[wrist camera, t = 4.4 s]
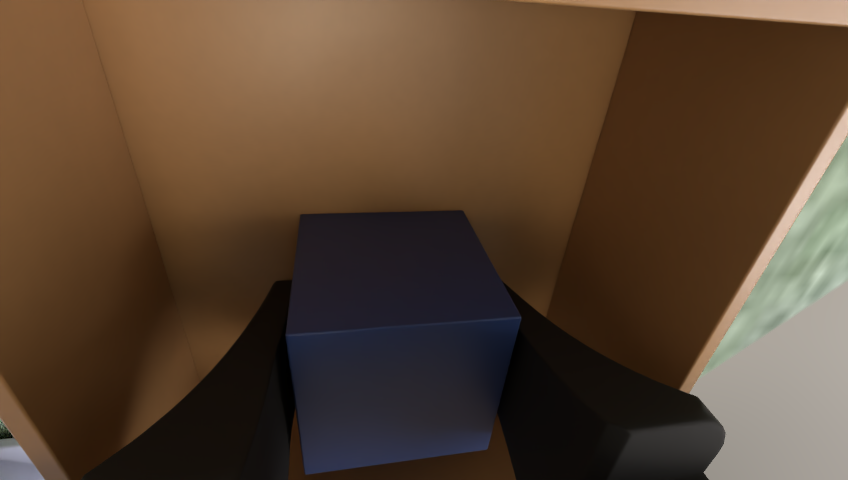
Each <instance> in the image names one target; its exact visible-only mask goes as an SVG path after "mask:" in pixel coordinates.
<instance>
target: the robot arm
mask: <svg viewBox="0 0 848 480" xmlns="http://www.w3.org/2000/svg"><path fill="white" fill-rule="evenodd" d="M501 281H502V280H501ZM502 282H503V281H502ZM503 284H504V286H505V288H506V290H507V292H508V293H509V295H510V297H511V299H512V301H513V303H514V304H515V306H516V308H517V310H518V312H519V314H520V315H521V321H520V325H519V329H518V333H517V337H516V341H515V345H514V348H513V352H512V356H511V360H510V364H509V368H508V372H507V376H506V379H505V383H504V387H503V391H502V395H501V399H500V403H499V407H498V410H497V414H498V417H499V420H500V424H501V427H502V431H503V434H504V437H505V441H506V444H507V448H508V451H509V455H510V459H511V463H512V466H513V470H514V474H515V478H516V480H709V479H708V478H707V477H706V475H705V474H704V473H703V472H704V471H705V470H706V468H707V467H708V466H709V464H710V463H711V462H712V460H713V459H714V458H715V456H716V455H717V454H718V452H719V451H720V449H721V447H722V446H723V444H724V439H725V430H724V428H723V426H722V425H721V424H720V423H719V421H718V420H717V419H716V418H715V417H714V416H713V414H712V413H711V412H710V411H709V410H708V409H707V407H706V406H705V405H704V404H703V403H702V402H701V400H700V399H699V398H698V397H696V396H694V395H691V394H689V393H686V392H683V391H681V390H678V389H676V388H673V387H670V386H668V385H665V384H663V383H660V382H658V381H655V380H653V379H651V378H649V377H646V376H644V375H642V374H640V373H637V372H635V371H633V370H631V369H629V368H627V367H625V366H623V365H621V364H619V363H617V362H615V361H613V360H611V359H609V358H608V357H606V356H604V355H602V354H600V353H598V352H597V351H595V350H593V349H592V348H590V347H588V346H586V345H585V344H583V343H582V342H580V341H579V340H577V339H576V338H574V337H572V336H571V335H569V334H568V333H566V332H565V331H563V330H562V329H561V328H559V327H558V326H556V325H555V324H554V323H552V322H551V321H550V320H548V319H547V318H546V317H544V316H543V315H542V314H541V313H539V312H538V311H537V310H535V309H534V308H533V307H532V306H531V305H529V304H528V303H527V302H526V301H525V300H523V299H522V298H521V297H520V296H519V295H518V294H517V293H515V292H514V291H513V290H512V289H511V288H510V287H509V286H507V285H506V284H505V283H504V282H503ZM291 285H292V280H281V281H276V282H275V283H274V284H273V285H272V287H271V289H270V291H269V293H268V294H267V296H266V298H265V299H264V301H263V303H262V304H261V306H260V308H259V309H258V311H257V312H256V314H255V315H254V317H253V318H252V319H251V321H250V322H249V324H248V325H247V327H246V328H245V330H244V331H243V332H242V334H241V335H240V336H239V338H238V339H237V340H236V341H235V343H234V344H233V345H232V346H231V348H230V349H229V350H228V352H227V353H226V354H225V355H224V356H223V357H222V359H221V360H220V361H219V362H218V363H217V364H216V366H215V367H214V368H213V369H212V370H211V371H210V372H209V373H208V374H207V375H206V376H205V377H204V378H203V379H202V381H201V382H200V383H198V384H197V385H196V386H195V387H194V388H193V389H192V390H191V391H190V392H189V393H188V394H187V395H186V396H185V397H184V398H183V399H182V400H181V401H180V402H179V403H178V404H177V405H175V406H174V407H173V408H172V409H171V410H170V411H169V412H167V413H166V414H165V415H164V416H163V417H161V418H160V419H159V420H158V421H157V422H155V423H154V424H153V425H152V426H151V427H149V428H148V429H147V430H146V431H145V432H143V433H142V434H141V435H140V436H138V437H137V438H136V439H134V440H133V441H132V442H130V443H129V444H128V445H126V446H125V447H123V448H122V449H121V450H119V451H118V452H116V453H115V454H114V455H112V456H111V457H109V458H108V459H107V460H105V461H104V462H102V463H101V464H99V465H98V466H97V467H95V468H94V469H92V470H91V471H89V472H88V473H86V474H85V475H84V476H83V478H82V479H81V480H288V474H289V456H290V442H291V433H292V425H293V419H294V413H295V402H294V395H293V387H292V380H291V373H290V366H289V359H288V351H287V344H286V337H285V334H286V326H287V318H288V309H289V301H290V293H291ZM0 480H45V479H44V478H43V476H42V475H41V474H40V472H39V471H38V470H37V468H36V467H35V466H34V464H33V463H32V461H31V460H30V459H29V457H28V456H27V455H26V453H25V452H24V451H23V449H22V448H21V446H20V445H19V444H18V442H17V441H16V440H15V438H8V439H0Z"/></svg>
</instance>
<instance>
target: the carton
mask: <svg viewBox="0 0 848 480" xmlns="http://www.w3.org/2000/svg"><path fill="white" fill-rule="evenodd" d="M847 135H848V0H0V419H1V420H2V422H3V423H4V425H5V426H6V427H7V429H8V430H9V431H10V433H11V434H12V435H13V437H14V438H15V440H16V441H17V442H18V444H19V445H20V446H21V448H22V449H23V451H24V452H25V453H26V455H27V456H28V457H29V459H30V460H31V461H32V463H33V464H34V466H35V467H36V468H37V470H38V471H39V472H40V474H41V475H42V476H43V478H44V479H45V480H81V479H82V478H83V476H84V475H85V474H86V473H88V472H89V471H91V470H92V469H94V468H95V467H97V466H98V465H99V464H101V463H102V462H104V461H105V460H107V459H108V458H109V457H111V456H112V455H114V454H115V453H116V452H118V451H119V450H121V449H122V448H123V447H125V446H126V445H128V444H129V443H130V442H132V441H133V440H134V439H136V438H137V437H138V436H140V435H141V434H142V433H143V432H145V431H146V430H147V429H148V428H149V427H151V426H152V425H153V424H154V423H155V422H157V421H158V420H159V419H160V418H161V417H163V416H164V415H165V414H166V413H167V412H169V411H170V410H171V409H172V408H173V407H174V406H175V405H177V404H178V403H179V402H180V401H181V400H182V399H183V398H184V397H185V396H186V395H187V394H188V393H189V392H190V391H191V390H192V389H193V388H194V387H195V386H196V385H197V384H198V383H200V382H201V381H202V379H203V378H204V377H205V376H206V375H207V374H208V373H209V372H210V371H211V370H212V369H213V368H214V367H215V366H216V364H217V363H218V362H219V361H220V360H221V359H222V357H223V356H224V355H225V354H226V353H227V352H228V350H229V349H230V348H231V346H232V345H233V344H234V343H235V341H236V340H237V339H238V338H239V336H240V335H241V334H242V332H243V331H244V330H245V328H246V327H247V325H248V324H249V322H250V321H251V319H252V318H253V317H254V315H255V314H256V312H257V311H258V309H259V308H260V306H261V304H262V303H263V301H264V299H265V298H266V296H267V294H268V293H269V291H270V289H271V287H272V285H273V284H274V283H275V282H276V281H281V280H292V277H293V269H294V261H295V253H296V245H297V237H298V228H299V220H300V215H301V214H332V213H373V212H415V211H456V210H462V211H464V213H465V215H466V217H467V218H468V220H469V222H470V224H471V226H472V228H473V229H474V231H475V233H476V235H477V237H478V239H479V240H480V242H481V244H482V246H483V248H484V250H485V251H486V253H487V255H488V257H489V259H490V260H491V262H492V264H493V266H494V268H495V270H496V271H497V273H498V275H499V277H500V279H501V280H502V281H503V282H504V283H505V284H506V285H507V286H509V287H510V288H511V289H512V290H513V291H514V292H515V293H517V294H518V295H519V296H520V297H521V298H522V299H523V300H525V301H526V302H527V303H528V304H529V305H531V306H532V307H533V308H534V309H535V310H537V311H538V312H539V313H541V314H542V315H543V316H544V317H546V318H547V319H548V320H550V321H551V322H552V323H554V324H555V325H556V326H558V327H559V328H561V329H562V330H563V331H565V332H566V333H568V334H569V335H571V336H572V337H574V338H576V339H577V340H579V341H580V342H582V343H583V344H585V345H586V346H588V347H590V348H592V349H593V350H595V351H597V352H598V353H600V354H602V355H604V356H606V357H608V358H609V359H611V360H613V361H615V362H617V363H619V364H621V365H623V366H625V367H627V368H629V369H631V370H633V371H635V372H637V373H640V374H642V375H644V376H646V377H649V378H651V379H653V380H655V381H658V382H660V383H663V384H665V385H668V386H670V387H673V388H676V389H678V390H681V391H683V392H686V393H689V392H690V391H691V389H692V388H693V386H694V384H695V383H696V381H697V379H698V378H699V376H700V375H701V373H702V371H703V370H704V368H705V366H706V365H707V363H708V361H709V360H710V358H711V357H712V355H713V353H714V352H715V350H716V348H717V347H718V345H719V344H720V342H721V340H722V339H723V337H724V335H725V334H726V332H727V331H728V329H729V327H730V326H731V324H732V322H733V321H734V319H735V317H736V316H737V314H738V313H739V311H740V309H741V308H742V306H743V304H744V303H745V301H746V300H747V298H748V296H749V295H750V293H751V291H752V290H753V288H754V287H755V285H756V283H757V282H758V280H759V278H760V277H761V275H762V274H763V272H764V270H765V269H766V267H767V265H768V264H769V262H770V260H771V259H772V257H773V256H774V254H775V252H776V251H777V249H778V247H779V246H780V244H781V243H782V241H783V239H784V238H785V236H786V234H787V233H788V231H789V230H790V228H791V226H792V225H793V223H794V221H795V220H796V218H797V216H798V215H799V213H800V212H801V210H802V208H803V207H804V205H805V203H806V202H807V200H808V199H809V197H810V195H811V194H812V192H813V190H814V189H815V187H816V186H817V184H818V182H819V181H820V179H821V177H822V176H823V174H824V173H825V171H826V169H827V168H828V166H829V164H830V163H831V161H832V159H833V158H834V156H835V155H836V153H837V151H838V150H839V148H840V146H841V145H842V143H843V142H844V140H845V138H846V137H847ZM288 480H516V478H515V474H514V470H513V466H512V463H511V459H510V455H509V451H508V448H507V444H506V441H505V437H504V434H503V431H502V427H501V424H500V420H499V417H498V414H496V418H495V422H494V426H493V430H492V434H491V438H490V441H489V445H488V449H487V450H480V451H473V452H466V453H459V454H452V455H444V456H437V457H430V458H423V459H416V460H408V461H401V462H394V463H387V464H380V465H372V466H365V467H358V468H351V469H344V470H336V471H329V472H322V473H315V474H307V475H306V474H305V473H304V467H303V459H302V452H301V445H300V438H299V431H298V423H297V416H296V409H295V413H294V419H293V425H292V433H291V442H290V456H289V474H288Z"/></svg>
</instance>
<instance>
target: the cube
mask: <svg viewBox="0 0 848 480" xmlns="http://www.w3.org/2000/svg"><path fill="white" fill-rule="evenodd" d="M520 321H521V315H520V314H519V312H518V310H517V308H516V306H515V304H514V303H513V301H512V299H511V297H510V295H509V293H508V292H507V290H506V288H505V286H504V284H503V282H502V281H501V279H500V277H499V275H498V273H497V271H496V270H495V268H494V266H493V264H492V262H491V260H490V259H489V257H488V255H487V253H486V251H485V250H484V248H483V246H482V244H481V242H480V240H479V239H478V237H477V235H476V233H475V231H474V229H473V228H472V226H471V224H470V222H469V220H468V218H467V217H466V215H465V213H464V211H462V210H456V211H415V212H373V213H332V214H301V215H300V220H299V228H298V237H297V245H296V253H295V261H294V269H293V277H292V285H291V293H290V301H289V309H288V318H287V326H286V334H285V337H286V344H287V351H288V359H289V366H290V373H291V380H292V387H293V395H294V402H295V409H296V416H297V423H298V431H299V438H300V445H301V452H302V459H303V467H304V473H305V474H306V475H307V474H315V473H322V472H329V471H336V470H344V469H351V468H358V467H365V466H372V465H380V464H387V463H394V462H401V461H408V460H416V459H423V458H430V457H437V456H444V455H452V454H459V453H466V452H473V451H480V450H487V449H488V445H489V441H490V438H491V434H492V430H493V426H494V422H495V418H496V414H497V410H498V407H499V403H500V399H501V395H502V391H503V387H504V383H505V379H506V376H507V372H508V368H509V364H510V360H511V356H512V352H513V348H514V345H515V341H516V337H517V333H518V329H519V325H520Z"/></svg>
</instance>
